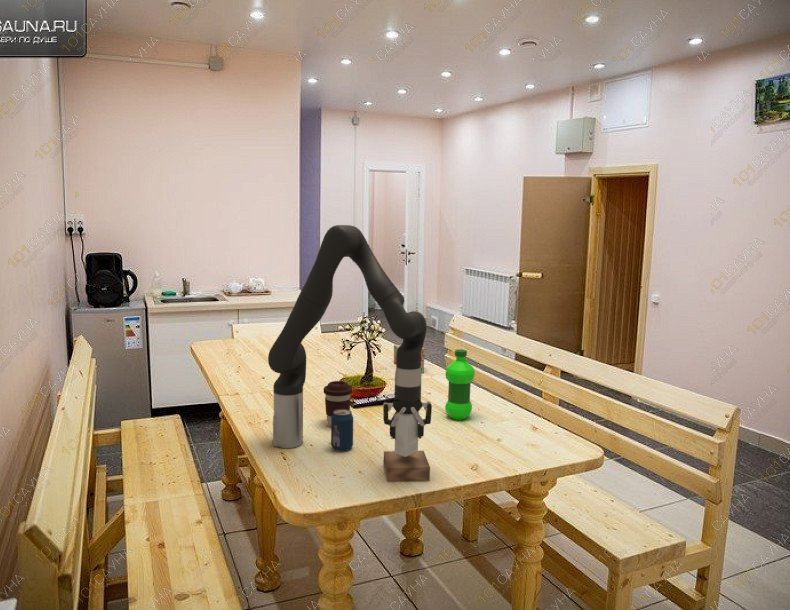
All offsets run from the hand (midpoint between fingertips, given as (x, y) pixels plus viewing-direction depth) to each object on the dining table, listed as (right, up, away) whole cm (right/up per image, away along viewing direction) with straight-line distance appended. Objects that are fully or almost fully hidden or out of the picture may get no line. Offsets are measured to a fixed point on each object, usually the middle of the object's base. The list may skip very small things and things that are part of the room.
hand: (406, 437), depth 181 cm
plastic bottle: (+20, -3, +49) cm, 53 cm away
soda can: (-20, -7, +18) cm, 28 cm away
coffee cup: (-23, -4, +39) cm, 46 cm away
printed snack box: (+3, +8, +116) cm, 117 cm away
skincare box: (0, -5, +1) cm, 5 cm away
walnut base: (0, -10, +2) cm, 10 cm away
